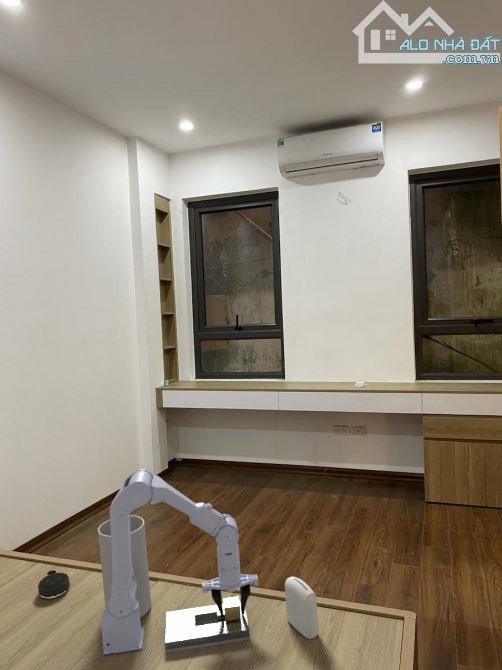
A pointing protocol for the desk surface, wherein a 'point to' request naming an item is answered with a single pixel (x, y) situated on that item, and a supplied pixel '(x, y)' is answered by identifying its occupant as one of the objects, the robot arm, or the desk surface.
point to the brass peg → (232, 608)
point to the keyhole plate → (202, 628)
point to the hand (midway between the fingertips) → (232, 613)
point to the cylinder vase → (137, 561)
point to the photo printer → (301, 607)
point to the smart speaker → (53, 584)
